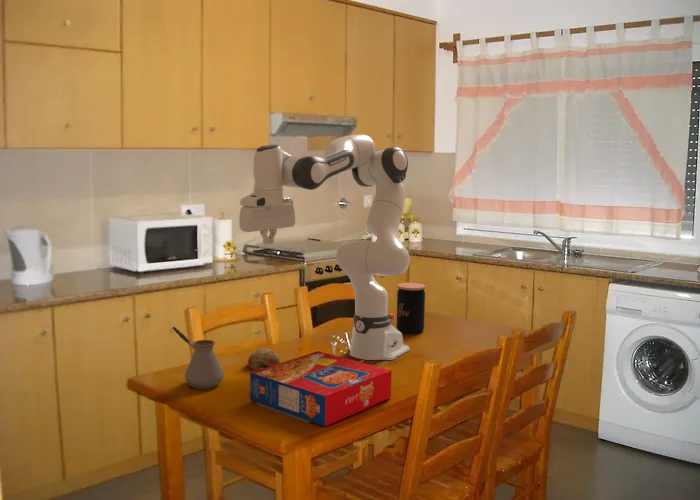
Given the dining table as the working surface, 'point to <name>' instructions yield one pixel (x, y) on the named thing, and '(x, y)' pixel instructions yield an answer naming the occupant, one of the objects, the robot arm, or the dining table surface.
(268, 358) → the bread roll
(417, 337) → the dining table surface
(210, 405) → the dining table surface
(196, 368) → the coffee pot
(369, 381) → the cereal box
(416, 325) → the coffee jar
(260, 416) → the dining table surface
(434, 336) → the dining table surface
